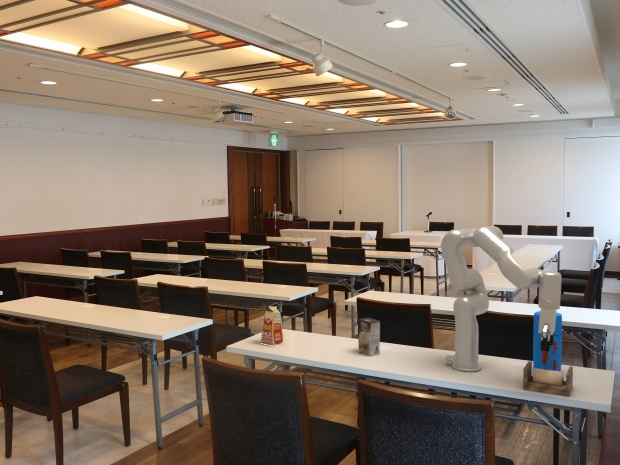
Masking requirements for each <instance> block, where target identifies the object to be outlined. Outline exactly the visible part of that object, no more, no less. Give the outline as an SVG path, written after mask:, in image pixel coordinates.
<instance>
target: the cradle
mask: <svg viewBox="0 0 620 465" xmlns="http://www.w3.org/2000/svg"><path fill="white" fill-rule="evenodd" d="M522 369H523V372H522V373H523V378H522V379H523V380H522V390H525V391H530V392H531V391H532V392H537V393H544V394H551V395H556V396H562V397H569V398H570V396H571V393H572V390H573V387H574V385H573V384H574V381H573V380H574V379H573V376H574V367H573V366H571V365H570V366H569V367H568V369H567V371H566V374H565V379H564V383H563V386H562V387H559V386H552V385H545V384H539V383H533V378H532V375H533V360H528V361H527V363H526V364H525V366H524V367H523V368H522Z"/></svg>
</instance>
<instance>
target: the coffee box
mask: <svg viewBox="0 0 620 465" xmlns="http://www.w3.org/2000/svg"><path fill="white" fill-rule="evenodd" d="M357 344H358V349H357V350H358V353H360V352H361V353H360V354H362V353H363V355H365V354H366V356H368V357H374V356H378V354H379V355H380V354H381V352H380V349H381V346H380V345H381V321H380V320H377V319H374V318H371V317H365V318H364V317H363V318H359V319H358V343H357ZM373 355H374V356H373Z"/></svg>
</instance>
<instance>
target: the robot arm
mask: <svg viewBox="0 0 620 465" xmlns="http://www.w3.org/2000/svg"><path fill="white" fill-rule="evenodd" d="M469 248H480V249H481V250H482V251H483V252H485V254H487V256H489V258H491V259H492V260H493V261H494V262H495V263H497V264H496V265H497V267H498V269H499V272H500V273H501V274H502V276H504V278H505V279H507V281H508V282H510V283H511V284H513V286H515V287H516V288H517V289H520V290H529V289H533V288H534V289H535V288H538V293H539V294H538V308H540V319H539V330H538V333H539V334H541V333H542V337H541V346H540V350H541V351H546V352H549V351H550V345H551V346H552V345H553V338H554V335H553V332H554V331H555V324H556V313H557V310H560V308H561V297H562V296H561V292H562V291H561V290H562V273H561V272H558V271H553V270H543V269H540V268H538V267H537V268H536V267H535V268H534V267H532V268H523V267H521V266H520V264H518V262H516V261H515V260H514V259H513V256H512V254H513V250H514V249H513V246H511V245H510V243H508V242H506V241H505V240H504V233H503V231H502V230H501V229H500V228H499V227H497V226H494V225H489V226H487V225H485V226H484V225H483V226H480V227H472V228H471V227H470V228H454V229H451V230H449V231H447V232H446V233H445V234H444V235H443V236H442V239H441V242H440V249H441V250H440V251H441V254H442V257H443V260H444V263H445V264H444V265H445V268H446V272H447V274H448V279H449V283H450V285H451V286H450V287H451V288H452V290H453V291H454V292H457V293H464V292H465V293H466V294H462V295H461V296H458V297H457V298H456V299H455V300H454V302H453V306H452V308H453V313H454V320H455V321H454V323H455V334H454V335H455V337H454V338H455V342H454V344H455V345H454V348H455V349H454V352H455V354H454V355H447V354H446V355H445V360H446V362H452V363H451V368H452V369H454V370H457V371H459V372H460V371H461V372H468V373H469V372H478V371H481V370H482V369H483V366H482V364H481V363H479V323H478V320H477V317H476V316H479V315H483V314H485V313H487V311H488V309H489V307H490V306H489V305H490V301H489V300H490V299H489V296H488V292H487V288H486V285H485V281H484V279H483V276H482V275H481V273H480V272H479V271H478V270H477V269H475V268H468V266H467V262H466V259H465V257H464V255H463V253H462V252H461V249H469Z"/></svg>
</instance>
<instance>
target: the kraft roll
mask: <svg viewBox="0 0 620 465" xmlns="http://www.w3.org/2000/svg"><path fill="white" fill-rule="evenodd" d="M532 378H533V383H539V384H545V385H552V386H559V387H562V386H563V383H564V380H565V378H564V372H563V371H561V372H559V371H552V370H544V369H537V368H534V371H533V370H532Z"/></svg>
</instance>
